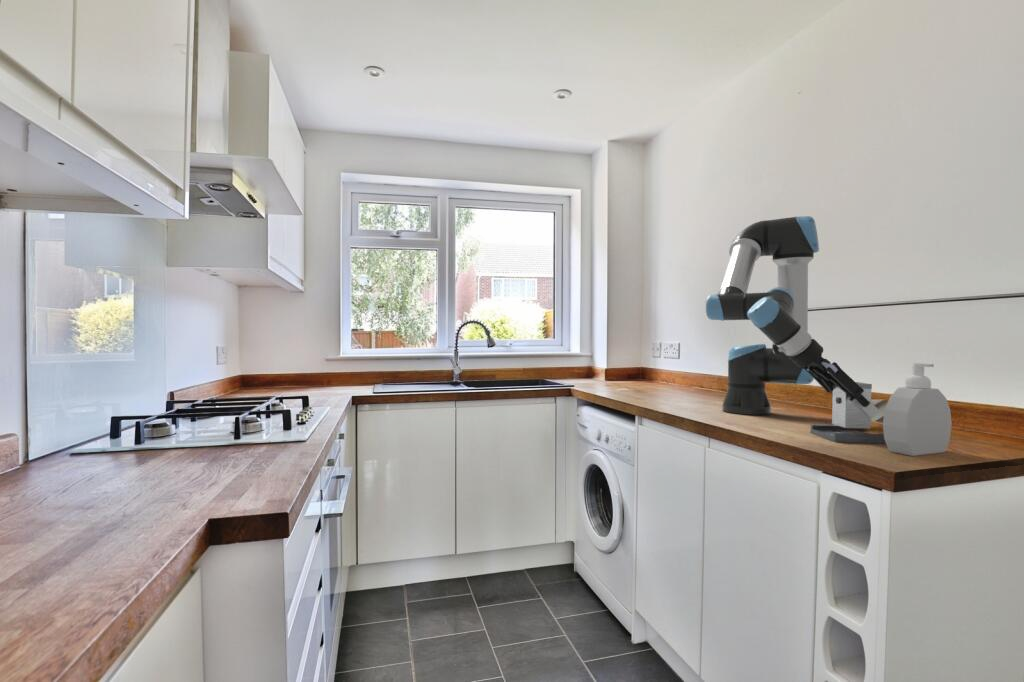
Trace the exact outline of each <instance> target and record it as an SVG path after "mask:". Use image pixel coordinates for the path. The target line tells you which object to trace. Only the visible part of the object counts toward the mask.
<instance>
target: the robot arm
mask: <svg viewBox="0 0 1024 682" xmlns="http://www.w3.org/2000/svg"><path fill="white" fill-rule="evenodd" d="M819 247H820V245H819V237H818V231H817V225H816V221H815V219H814V218H813V217H812V216H809V215H808V216H807V215H806V216H805V215H803V216H802V215H801V216H792V217H783V218H775V219H770V220H769V219H767V220H765V219H764V220H760V221H757V222H756V221H755V222H754V223H752V224H750V225H748V226H747V227H745V228H744V229H742V231H740V232H739V233H738V234H737V235H736V236H735V238H733V240H732V241H731V244H730V247H729V251H728V253H729V259H728V263H727V266H726V269H725V272H724V275H723V278H722V280H721V284H720V287H719V291H718V293H715V294H709V295H707V298H706V301H705V313H706V317H707V318H708V319H709V320H710V321H749V320H750V321H751V323H753V325H754V326H755V327H756V328H757V329H759V331H760V332H762V334H764V335H765V336H766V337H767V339H769V340H770V341H771V342H772V345H771V346H772V347H771V348H770V347H769V348H768V347H767V346H766V345H767V344H765V343H760V344H751V345H741V346H734V347H731V348H729V351H728V359H727V363H728V365H727V366H728V367H727V369H728V371H727V373H728V374H727V390H726V394H725V396H724V399H723V402H722V407H721V408H722V411H723V412H726V413H731V414H740V415H752V416H754V415H755V416H759V415H761V416H762V415H763V416H764V415H770V414H771V413H772V412H771V410H772V408H771V404H770V401H769V398H768V395H767V392H766V383H768V384H769V383H771V384H789V385H790V384H791V385H792V384H793V385H810V384H811V383H812V382H813V381H814V380H815V381H816V383H818V385H820V387H821V388H823V389H824V391H826V393H831V395H833V383H834V384H835V385H836V386H838V387H839V388H840V389H841V390H843V391H844V392H845V393H846V394H847V395H849V396H850V397H851V398H850V399H849V400H850V401H853V402H854V403H855V404H856V405H857V406H858V407H859V408H860V409H861V410H862V411H863V412H864V413H865V414H866V415H867V416H868V417H869V418H873V417H874V416H875V415H876V414H877V413H878V412H879V410H878V409H877V408H876V407H875V406H874V405H873V404H872V403H871V402H870V401H869V400H868V399H867V398H866V397H865V396H864V395H863V394H862V393H863V392H864V390H863V389H862V388H861V387H860V386H859V385H858V384H857V383H856V382H857V381H855V380H853V379H852V377H850V376H849V375H848V374H847V373H846V372H845V371H844V370H843V369H842V368H841V367H840V366H839V364H838V363H837V362H835V361H833V362H832V363H831V361H829V360H828V359H827V358H824V357H823V356H822V355H823V353H824V347H823V346H822V345H821V344H820V343H819V342H818V341H817V340H816V339H814V338H813V337H812V335H811V334H810V333H809V331H808V319H809V317H808V316H809V315H808V310H809V309H808V307H809V306H808V304H809V302H808V297H809V294H808V293H809V292H808V291H809V289H808V288H809V263H810V262H811V261H813V259H814V253H818V252H819V250H820V248H819ZM770 256H772V262H773V263H774V264H775V265H776V266H777V287H774V288H771V289H769V290H768V291H767V292H751V293H749V292H748V289H749V285H750V282H751V279H752V278H751V277H752V274H753V271H754V267H755V263H756V261H758V260H759V259H760V257H770Z"/></svg>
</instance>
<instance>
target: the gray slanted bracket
mask: <svg viewBox="0 0 1024 682" xmlns="http://www.w3.org/2000/svg"><path fill="white" fill-rule="evenodd" d="M871 403H872V404H873V405H874V406H875V407H876V408H877V409H878V410H879V412H878V413H877V414H876V415H875V416H874V417H873V418H871V420H873V421H877V422H881V423H883V419H884V412H885V408H886V405H887V403H888V401H886V400H885V399H882V398H881V399H871ZM831 424H832V421H831Z"/></svg>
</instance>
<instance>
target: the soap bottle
mask: <svg viewBox="0 0 1024 682" xmlns="http://www.w3.org/2000/svg"><path fill="white" fill-rule="evenodd" d="M934 366H935V365H934V363H920V362H918V363H917V362H915V363H914V362H913V363H912V367H911V368H912V369H911V370H912V371H911V372H912V373H911V374H912V375H909V376H907V377H906V378H905V382H904V383H905V387H897V388H896V389H895V391H894V392H893V393H892V394H890V396H889V398H888V401H887V405H886V408H885V412H884V419H883V430H884V439H885V442H886V447H887V448H888V451H889V452H890V453H894V454H895V453H896V454H898V455H899V454H900V455H905V456H910V457H918V456H925V455H934V454H941V453H945V452H946V451H947V448H948V445H949V443H950V441H951V435H952V434H951V433H952V425H953V423H952V415H951V412H952V411H951V408H950V405H949V403H948V400H947V397H946V396H945V395H944V394H943V393H942V391H941V390H940V389H939V388H932V382H931V379H930V378H929V377H928V376H926V375H925V368H934Z"/></svg>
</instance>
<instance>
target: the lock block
mask: <svg viewBox="0 0 1024 682" xmlns="http://www.w3.org/2000/svg"><path fill="white" fill-rule="evenodd" d="M855 382H856V383H857V384H858V385H859V386H860V387H861V388H862V389H863V390H864V392H863V393H862V394H863V395H864V396H865V397H866V398H867V399H868V400H869V401H870V402H871V400H872V388H873V387H872V386H873V385H872V383H865V382H859V381H855ZM850 398H851V397H850V396H849V395H847V394H846V393H845V392H844V391H843V390H841V389H840V388H839V387H838V386H836V385H835V384H834V383H833V394H832V410H831V411H832V412H831V414H832V417H831V419H832V420H831V422H832V423H831V425H837V426H840V427H844V428H864V429H871V418H869V417H868V416H867V415H866V414H865V413H864V412H863V411H862V410H861V409H860V408H859V407H858V406H857V405H856V404H855V403H854V402H853V401H850V400H849V399H850Z"/></svg>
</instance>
